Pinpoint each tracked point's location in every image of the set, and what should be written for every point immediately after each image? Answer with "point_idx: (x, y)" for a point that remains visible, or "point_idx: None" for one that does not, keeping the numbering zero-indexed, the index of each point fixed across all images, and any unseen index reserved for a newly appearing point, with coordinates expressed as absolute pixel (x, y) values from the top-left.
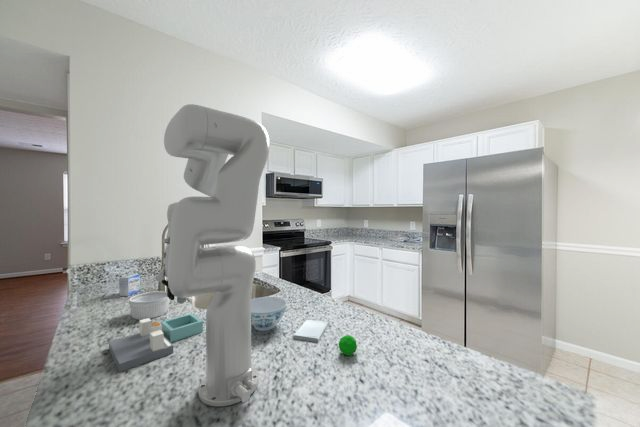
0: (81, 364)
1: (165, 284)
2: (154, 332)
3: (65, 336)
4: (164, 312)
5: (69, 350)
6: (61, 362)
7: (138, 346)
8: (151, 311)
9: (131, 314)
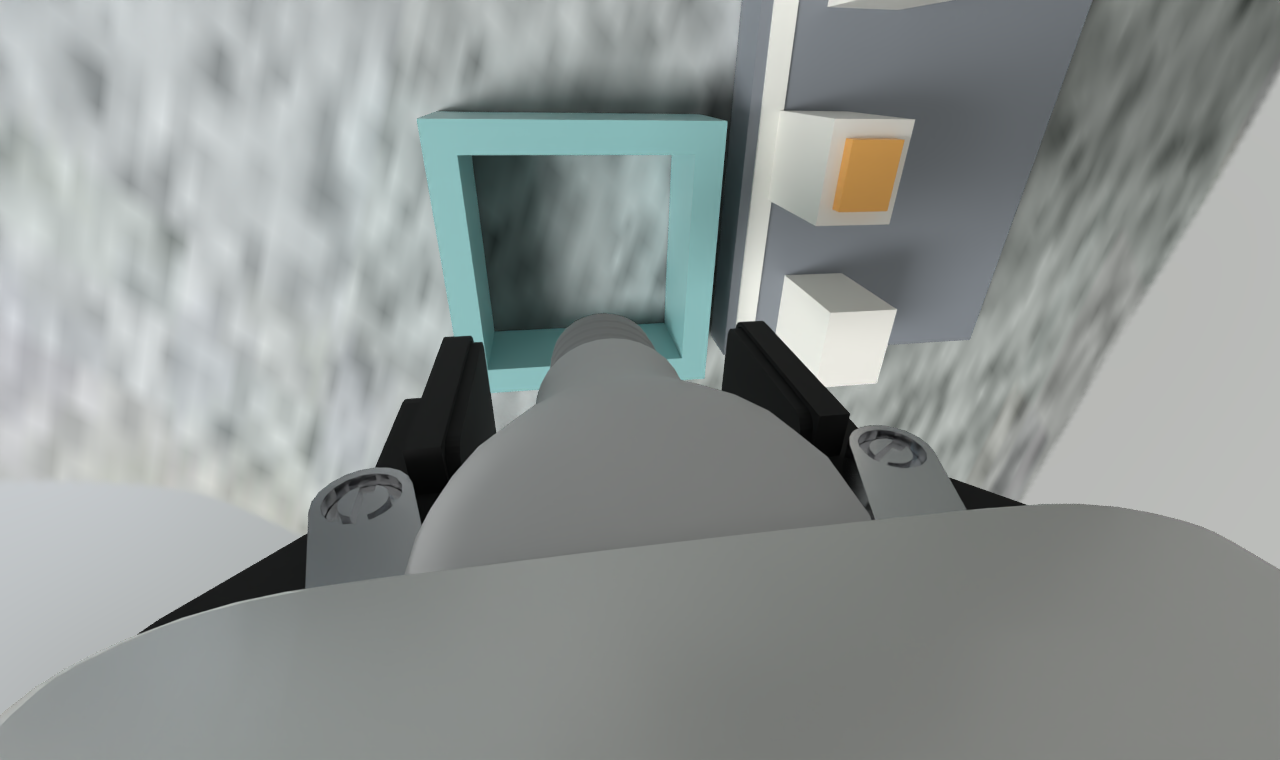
0: (1088, 222)
1: (981, 499)
2: None
3: None
4: None
5: (1027, 422)
6: (1103, 316)
7: (929, 109)
8: None
9: None
